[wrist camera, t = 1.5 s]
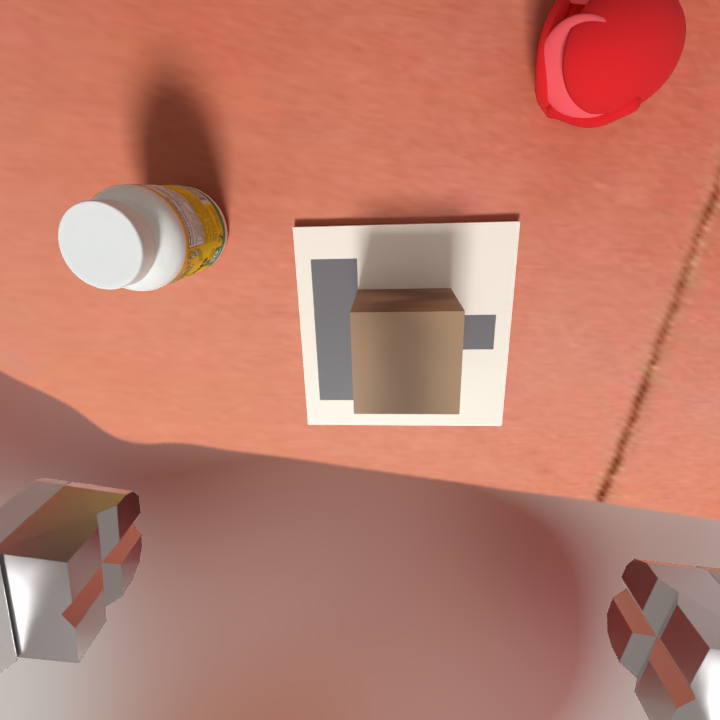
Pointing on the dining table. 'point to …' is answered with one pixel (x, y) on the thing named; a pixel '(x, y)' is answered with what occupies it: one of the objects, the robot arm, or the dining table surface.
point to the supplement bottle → (142, 236)
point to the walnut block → (406, 351)
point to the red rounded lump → (605, 57)
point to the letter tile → (405, 271)
